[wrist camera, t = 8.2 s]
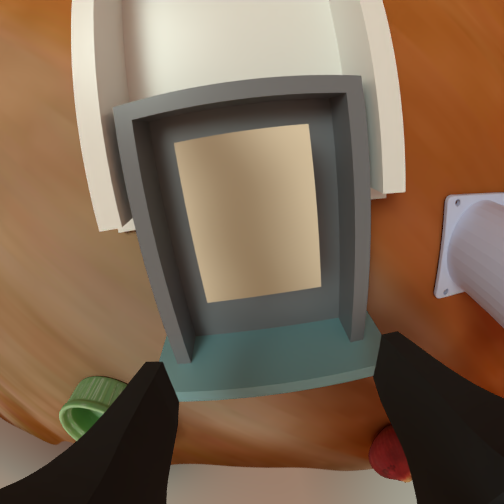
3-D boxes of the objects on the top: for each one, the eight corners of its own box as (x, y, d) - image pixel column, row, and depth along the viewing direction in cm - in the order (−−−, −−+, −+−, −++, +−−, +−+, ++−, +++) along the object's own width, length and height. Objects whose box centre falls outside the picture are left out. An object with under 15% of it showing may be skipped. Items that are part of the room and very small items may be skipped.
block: (285, 126, 14) (308, 123, 9) (298, 240, 16) (321, 286, 11) (195, 139, 14) (174, 142, 9) (216, 252, 16) (207, 302, 11)
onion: (368, 446, 28) (386, 498, 21) (355, 430, 27) (374, 490, 19) (411, 424, 27) (434, 474, 20) (403, 405, 25) (430, 463, 18)
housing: (382, 195, 17) (421, 217, 13) (122, 229, 17) (90, 260, 13) (341, -56, 10) (364, -90, 6) (94, -24, 10) (62, -51, 6)
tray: (362, 315, 19) (394, 370, 14) (171, 340, 19) (155, 401, 14) (358, 85, 13) (410, 70, 8) (117, 116, 14) (63, 114, 9)
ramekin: (101, 426, 25) (90, 457, 21) (58, 369, 22) (40, 401, 18) (174, 429, 25) (168, 465, 21) (138, 368, 22) (124, 408, 18)
